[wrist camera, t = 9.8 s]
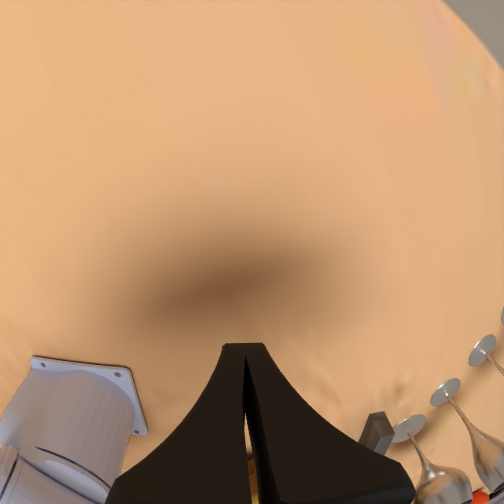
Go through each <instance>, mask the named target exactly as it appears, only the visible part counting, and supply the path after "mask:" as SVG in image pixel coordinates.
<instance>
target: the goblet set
mask: <svg viewBox="0 0 504 504" xmlns="http://www.w3.org/2000/svg"><path fill="white" fill-rule="evenodd" d="M501 320H502V324H503V325H504V308H503V311H502V317H501ZM495 345H496V337H495V336H494V335H492V334H490V335H487V336H485V337H484V338H482V339H481V340H480V341H479V342H478V343H477V344H476V345H475V347H474V348H473V350H472V352H471V354H470V356H469V365H470V366H471V367H476V366H479V365H481V364H482V363H484V362H485V361H486V360H487V359H489V360H490V361H491V362H492V363H493V364H494V365H495V366H496V368H497V369H498V370H499V371H500V372H501V373H502V374H503V376H504V369H503V368H502V367H501V366H500V365H499V364H497V363H496V362H495V361H494V360H493V358H492V357H491V356H490V355H491V354H492V352H493V350H494V348H495ZM460 384H461V383H460V380H459V379H457V378H453V379H450V380H448V381H446V382H444V383H443V384H442V385H441V386H439V387H438V388H437V389H436V391H435V392H434V393H433V395H432V397H431V400H430V403H431V405H432V406H435V407H437V406H441V405H443V404H445V403H447V402H448V401H450V402H451V403H452V405H453V406H454V408H455V409H456V411H457V412H458V414H459V415H460V417H461V418H462V420H463V422H464V423H465V425H466V427H467V429H468V431H469V434H470V437H471V443H472V451H473V460H474V465H475V468H476V471H477V473H478V475H479V477H480V479H481V480H482V482H483V483H484V484H485V486H486V487H487V488H488V489H489V490H490V491H491V492H492V493H495V492H497V491H498V490H500V489H501V488H503V487H504V443H503V442H502V441H500V440H498V439H497V438H495V437H493V436H490V435H488V434H486V433H484V432H482V431H480V430H479V429H477V428H476V427H475V426H474V425H473V424H472V423H471V422H470V421H469V420H468V419H467V417H466V416H465V415H464V414H463V412H462V411H461V410H460V408H459V407H458V406H457V405H456V403H455V402H454V401H453V399H452V398H453V397H454V396H455V395H456V393H457V392H458V390H459V388H460ZM425 422H426V417H425V416H424V415H420V414H419V415H413V416H410V417H408V418H406V419H404V420H402V421H401V422H399V423H398V424H397V425H396V426H395V427H393V430H394V432H395V435H394V437H393V439H392V441H391V443H399V442H403V441H406V440H408V439H411V441H412V443H413V445H414V446H415V448H416V450H417V453H418V455H419V458H420V461H421V465H422V473H421V477H420V479H419V482H418V484H417V486H416V488H415V490H416V496H415V498H414V500H413V501H412V504H470V503H471V502H472V501H473V495H472V488H471V483H470V480H469V478H468V476H467V475H466V474H465V473H464V472H463V471H462V470H460V469H457V468H453V467H444V466H438V465H435V464H433V463H431V462H430V461H429V460H428V459H427V458H426V457H425V456H424V454H423V453H422V451H421V450H420V448H419V446H418V445H417V443H416V441H415V439H414V437H413V436H414V435H416V434H417V433H418V432H419V431H420V430H421V429H422V428H423V426H424V425H425Z"/></svg>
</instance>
